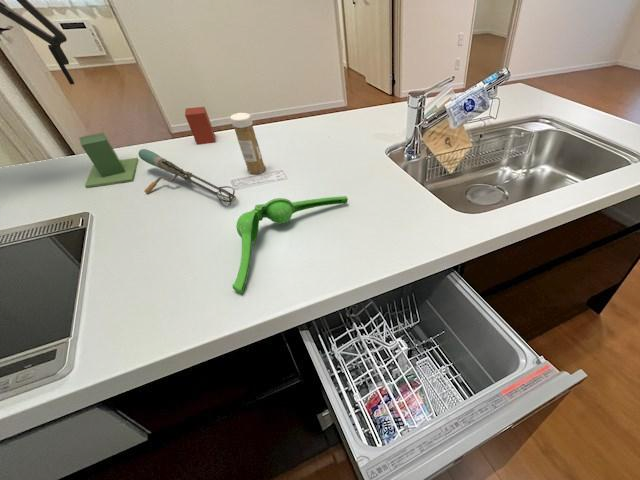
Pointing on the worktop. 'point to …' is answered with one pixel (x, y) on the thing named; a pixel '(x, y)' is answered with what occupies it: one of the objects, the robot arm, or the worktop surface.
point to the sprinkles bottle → (248, 142)
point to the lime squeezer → (278, 213)
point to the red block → (200, 125)
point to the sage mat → (127, 176)
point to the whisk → (172, 168)
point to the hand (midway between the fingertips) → (33, 88)
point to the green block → (102, 154)
